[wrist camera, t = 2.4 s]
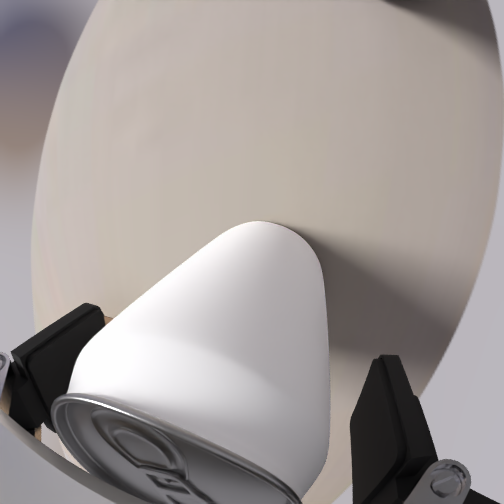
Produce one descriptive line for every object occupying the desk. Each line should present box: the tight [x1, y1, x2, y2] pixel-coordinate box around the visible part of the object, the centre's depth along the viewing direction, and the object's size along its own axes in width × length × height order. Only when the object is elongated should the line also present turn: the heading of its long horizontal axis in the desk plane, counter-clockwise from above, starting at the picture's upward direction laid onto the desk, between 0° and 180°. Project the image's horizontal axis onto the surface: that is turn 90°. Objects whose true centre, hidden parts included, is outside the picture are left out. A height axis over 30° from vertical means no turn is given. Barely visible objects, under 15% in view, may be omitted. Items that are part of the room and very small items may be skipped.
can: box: [51, 221, 330, 504], centre depth 10 cm, size 6×6×12 cm
